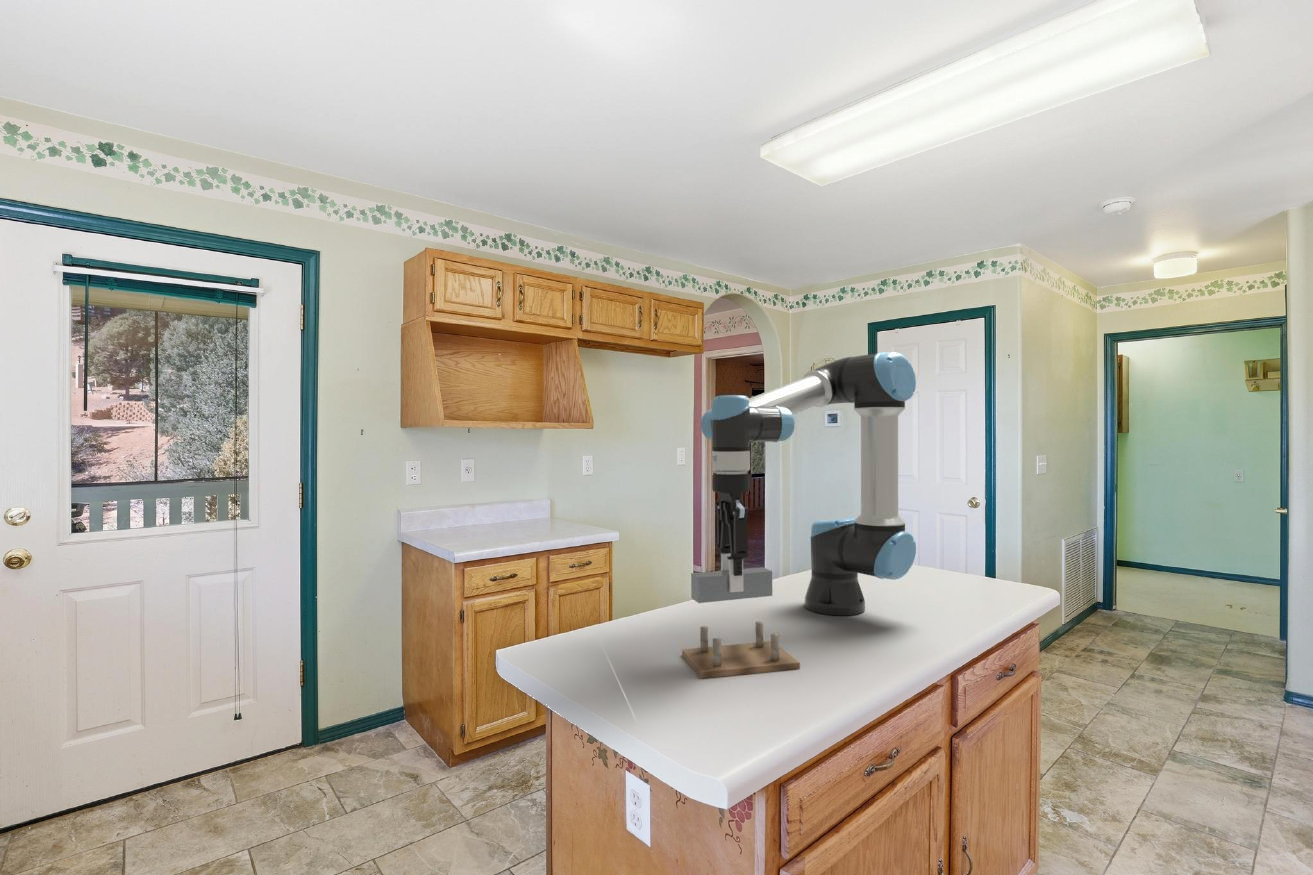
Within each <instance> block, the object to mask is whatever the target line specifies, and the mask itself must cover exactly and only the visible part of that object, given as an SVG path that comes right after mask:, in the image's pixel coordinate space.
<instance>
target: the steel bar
mask: <svg viewBox="0 0 1313 875" xmlns="http://www.w3.org/2000/svg"><path fill="white" fill-rule="evenodd" d="M690 583H691V584H690V585H691V586H690V588H691V589H690V592H691V594H690V596H691V600H694V601H695V602H696V603H698V604H704V603H714V602H715V603H716V602H722V601H723V602H724V601H725V602H726V601H734V600H743V599H746V600H747V599H754V598H764V597H773V571H772V570H770V569H768V568H766V567H750V568H749V567H748V568H743V589H744V591H742V592H729V570H724V571H721V570H716V571H715V570H713V571H702V572H693V573H692V572H691V573H690Z"/></svg>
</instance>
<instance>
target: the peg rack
mask: <svg viewBox="0 0 1313 875" xmlns="http://www.w3.org/2000/svg"><path fill="white" fill-rule="evenodd" d="M754 626H755V642H751V643H749V642H748V643H739V644H728V645H722V639H721V638H717V637H716V638H712V646H709V626H707V625H702V626H700V627H699V629H700V630H699V634H700V635H699V636H700V637H699V639H700V644H699V645H700V647H694V648H693V647H692V648H683V649H681V652H682V654H681V656H682V657H683V658H684V660H686V662H687V663H688V665H689V666H690V667H691V669H692V670H694V672H695V673H696V675H697V676H698V677H699V678H700V680H701V679H702V680H703V679H710V678H711V679H712V678H720V677H731V676H739V675H740V676H743V675H751V674H759V673H761V674H762V673H770V672H779V671H790V670H800V669H801V664H800V661H799V660H797V659H796V658H795V657H793V656H792V655H791V654H789V653H788V652H787V651H785V649H783V648H782V647H781V646H780V634H779V633H778V632H777V633H776V632H775V633H773V632H772V633H770V641H764V622H763V621H755V625H754Z"/></svg>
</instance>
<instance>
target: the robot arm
mask: <svg viewBox="0 0 1313 875" xmlns="http://www.w3.org/2000/svg"><path fill="white" fill-rule="evenodd" d="M916 385H917V380H916V374H915V370H914V368H913V366H912V364H911V363H910V362H909V359H908V358H907V357H906V356H904V355H903V354H902V353H899V352H893V351H892V352H884V351H883V352H878V353H877V352H876V353H871V354H864V355H856V356H847V357H842V358H839V359H837V360H834V361H831V362H829V363H827V364H825V365H821V366H820V367H817V368H815V369H813V370H809V371H807V372H806V373H805V374H804V375H803V376H802V378H800V379H797V380H795V381H792V382H789V383H787V384H784V385H781V386H778V387H777V388H773V389H771V390H768V391H765V392H762V393H761V394H757V395H755V396H752V397H748V396H747V395H742V394H741V395H740V394H738V395H737V394H732V395H730V394H729V395H728V394H727V395H718V396H715V397H713V399H712V400H711V401H712V402H711V408H710V409H708V410H706V411H705V413H704V414H703V416H702V418H701V421H700V429H701V432H702V434H703V436H704V437H705V438H706V439H707V440H710V441H711V451H712V452H711V454H712V455H711V456H709V460H710V461H711V462H712V464H711V465H712V469H711V470H712V471H713V472H715V473H713V475H712V476H711V478H712V479H711V480H712V484H711V485H712V492H714V493H718V494H720V500H716V501H715V508H716V538H717V539H716V540H717V541H716V546H717V548H718V549H719V552H720V571H724V570H729V592H742V591H744V589H743V569H744V560H745V558H748V556H749V554H748V551H749V550H748V544H749V543H748V541H749V540H748V536H749V535H748V531H749V530H748V518H749V512H750V511H749V507H748V506H744V505H745V504H744V501H743V496H742V494H743V493H744V494H745V493H749V492H750V490H751V475H750V474H749V473H748V472H749V471H750V470H751V451H750V450H751V449H750V446H751V443H769V442H770V443H778V442H783V441H786V440H788V439H789V438H791V436H792V435H793V433H794V431H795V427H796V426H795V424H796V423H795V416H794V415H797V414H798V413H801V412H803V411H806V410H808V409H811V408H813V407H815V408H823V407H826V406H828V405H834V404H854V408H853V409H854V411H855V412H856V413H857V414H858V415H859V416H860V514H859V516H857V517H856V518H854V517H853V518H852V517H851V518H848V517H847V518H846V517H845V518H832V519H831V518H830V519H821V520H816V521H814V522H813V523H812V525H811V528H810V529H811V532H810V533H811V534H810V564H811V567H810V568H811V575H810V576H811V577H810V581H809V583H808V587H807V590H806V593H805V596H804V607H805V608H806V610H809V611H811V612H815V613H817V614H822V615H829V616H830V615H831V616H855V615H859V614H862V613H864V612H865V610H866V601H865V597H864V594H863V591H862V587H861V586H860V582H859V578H858V577H859V576H858V575H859V574H862V575H864V576H865V575H866V576H871V577H875V578H877V579H881V580H883V579H887V580H893V581H895V580H899V579H902V578H903V577H905V575H907V574H908V573H909V570H910V569H911V568H912V567H913V564H914V562H915V559H916V554H917V545H916V544H917V543H916V540H915V539H914V536H913V535H912V534H911V533H910V532H908V531H906V521H905V520H903V518H901V516H900V515H899V416H900V415H901V413H902V412H903V411H904V410H906V401H908V400H910V399H911V398H912V397H913V395H914V393H915V391H916V388H917V386H916Z"/></svg>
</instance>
